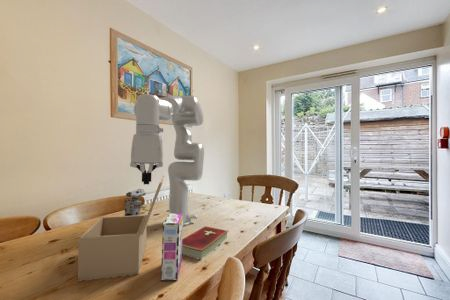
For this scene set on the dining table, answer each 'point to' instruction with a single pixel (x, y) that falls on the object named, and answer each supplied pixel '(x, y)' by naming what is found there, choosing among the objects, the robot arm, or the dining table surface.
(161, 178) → the carton lid
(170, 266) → the candy bar box
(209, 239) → the hardcover book
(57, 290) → the dining table surface
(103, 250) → the carton
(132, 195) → the figurine
